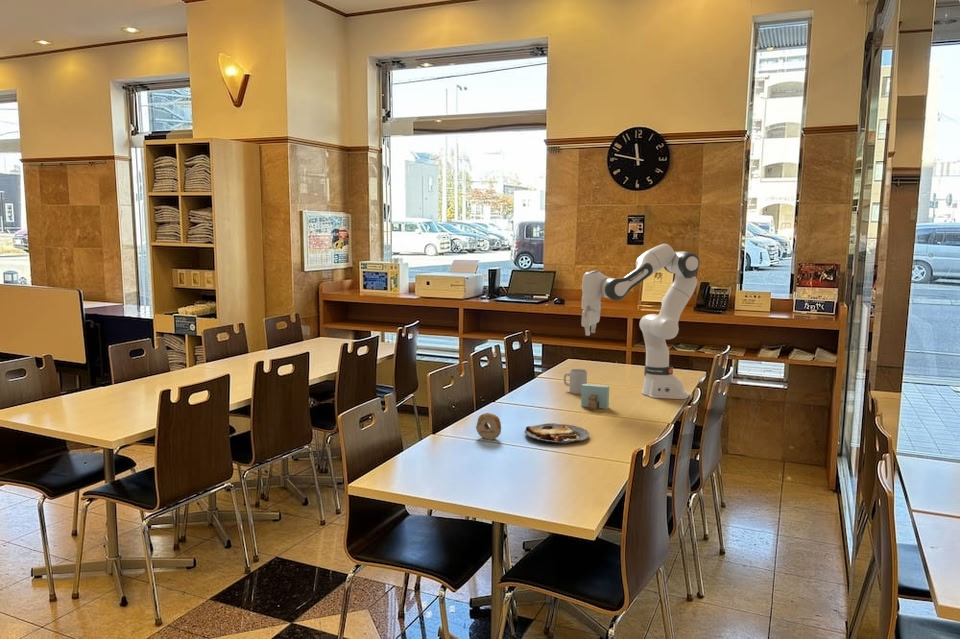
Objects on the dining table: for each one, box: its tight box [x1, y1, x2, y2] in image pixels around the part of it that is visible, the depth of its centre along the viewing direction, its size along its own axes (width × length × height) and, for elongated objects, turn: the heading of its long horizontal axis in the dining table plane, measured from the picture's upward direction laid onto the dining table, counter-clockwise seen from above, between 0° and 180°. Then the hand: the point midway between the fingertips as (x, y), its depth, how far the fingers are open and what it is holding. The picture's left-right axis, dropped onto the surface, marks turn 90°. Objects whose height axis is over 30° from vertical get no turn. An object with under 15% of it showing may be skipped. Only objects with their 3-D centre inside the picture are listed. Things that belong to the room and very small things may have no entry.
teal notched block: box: [580, 383, 610, 410], centre depth 315 cm, size 12×3×10 cm, turn 66°
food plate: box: [524, 422, 590, 445], centre depth 270 cm, size 25×23×4 cm
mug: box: [563, 368, 588, 395], centre depth 345 cm, size 12×8×11 cm
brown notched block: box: [587, 395, 599, 411], centre depth 315 cm, size 12×3×6 cm, turn 156°
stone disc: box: [475, 412, 502, 441], centre depth 267 cm, size 10×4×10 cm, turn 56°
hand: (590, 334), depth 329 cm, fingers open, 8 cm apart
